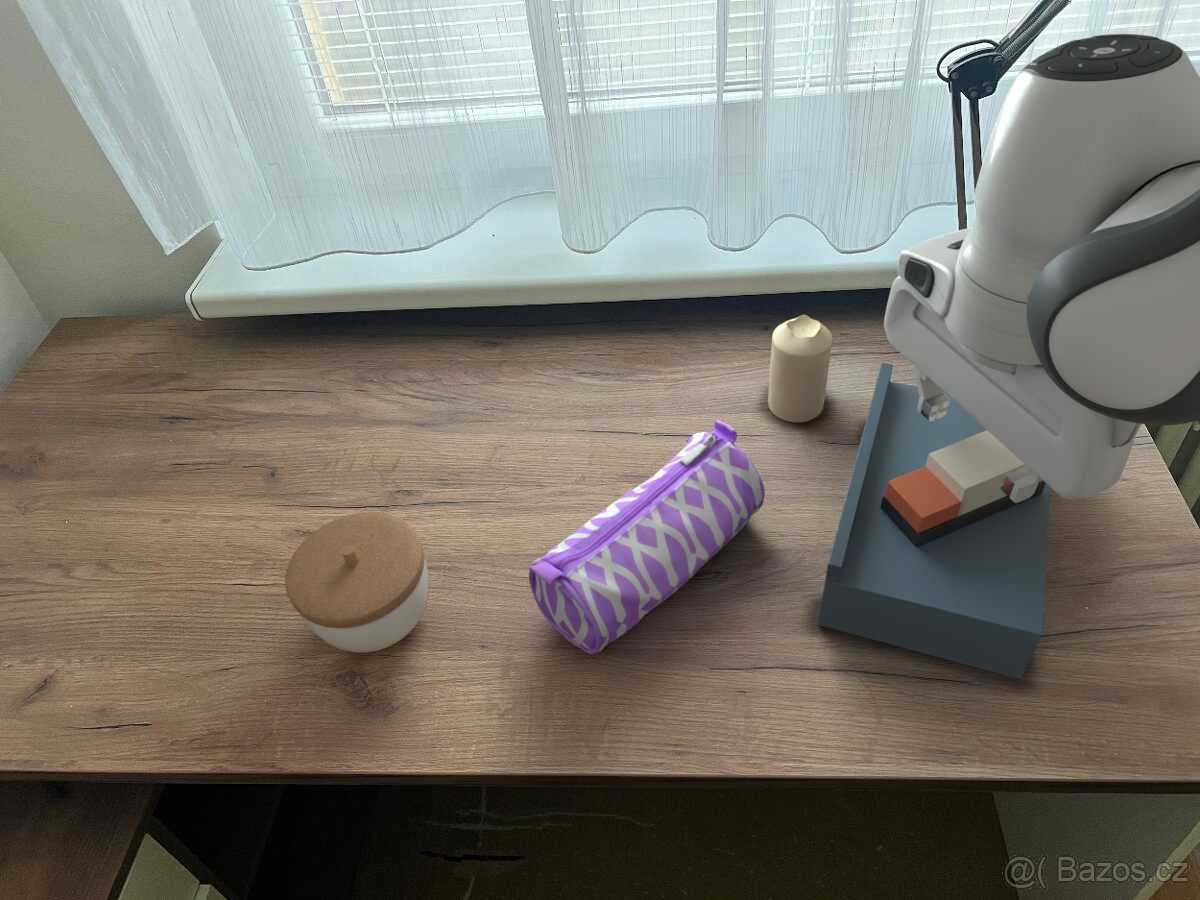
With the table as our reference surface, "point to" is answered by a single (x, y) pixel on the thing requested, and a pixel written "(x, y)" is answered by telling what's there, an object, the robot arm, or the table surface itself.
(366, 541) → the trinket box
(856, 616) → the grey lipped base tray
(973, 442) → the cream and orange block
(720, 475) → the pencil case
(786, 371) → the candle
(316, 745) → the table surface
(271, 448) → the table surface
